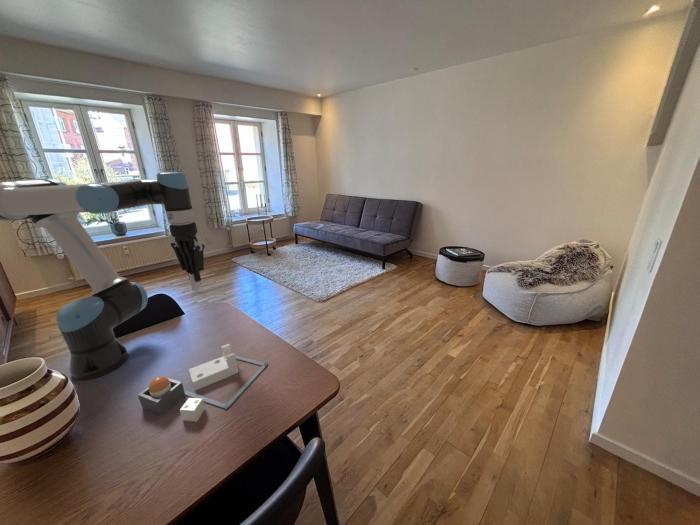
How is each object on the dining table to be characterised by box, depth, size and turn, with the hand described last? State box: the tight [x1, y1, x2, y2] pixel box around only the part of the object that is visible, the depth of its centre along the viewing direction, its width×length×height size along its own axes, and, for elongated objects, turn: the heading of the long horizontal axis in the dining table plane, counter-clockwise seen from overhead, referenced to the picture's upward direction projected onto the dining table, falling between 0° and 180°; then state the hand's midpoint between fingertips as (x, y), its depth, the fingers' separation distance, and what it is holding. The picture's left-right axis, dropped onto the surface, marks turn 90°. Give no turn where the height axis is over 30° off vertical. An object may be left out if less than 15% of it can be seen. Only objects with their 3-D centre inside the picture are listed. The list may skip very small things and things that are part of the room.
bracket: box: [188, 343, 239, 391], centre depth 91 cm, size 13×7×8 cm, turn 126°
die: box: [179, 397, 206, 422], centre depth 77 cm, size 4×4×4 cm
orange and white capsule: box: [148, 375, 171, 399], centre depth 80 cm, size 5×5×8 cm
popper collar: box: [137, 376, 186, 417], centre depth 81 cm, size 8×8×5 cm
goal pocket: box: [184, 354, 268, 411], centre depth 90 cm, size 18×19×1 cm
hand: (197, 289), depth 98 cm, fingers closed
